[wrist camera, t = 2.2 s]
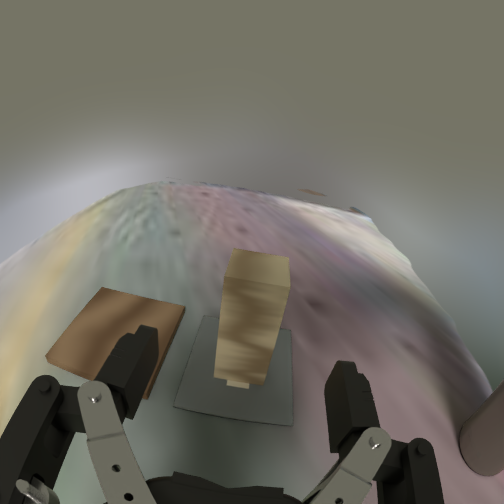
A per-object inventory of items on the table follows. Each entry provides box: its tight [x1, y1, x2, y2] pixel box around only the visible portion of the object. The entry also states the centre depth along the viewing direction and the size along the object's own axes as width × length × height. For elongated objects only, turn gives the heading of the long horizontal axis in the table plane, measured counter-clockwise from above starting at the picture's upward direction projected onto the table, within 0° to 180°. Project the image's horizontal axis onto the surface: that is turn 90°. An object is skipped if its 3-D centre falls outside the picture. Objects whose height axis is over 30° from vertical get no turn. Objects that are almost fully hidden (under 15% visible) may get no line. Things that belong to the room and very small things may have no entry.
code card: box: [173, 316, 293, 426], centre depth 29 cm, size 11×14×1 cm
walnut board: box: [45, 287, 185, 400], centre depth 29 cm, size 12×14×1 cm
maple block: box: [214, 248, 290, 385], centre depth 27 cm, size 5×5×12 cm
